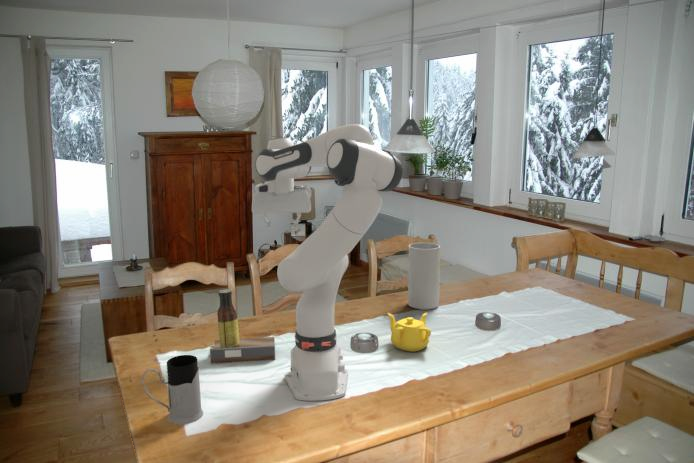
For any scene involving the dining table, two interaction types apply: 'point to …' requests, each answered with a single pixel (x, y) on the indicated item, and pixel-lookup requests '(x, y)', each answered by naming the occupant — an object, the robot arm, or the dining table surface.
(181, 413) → the grey mug
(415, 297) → the cylinder vase
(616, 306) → the dining table surface
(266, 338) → the book
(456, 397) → the dining table surface
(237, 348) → the price rail
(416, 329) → the teapot
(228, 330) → the sauce bottle
